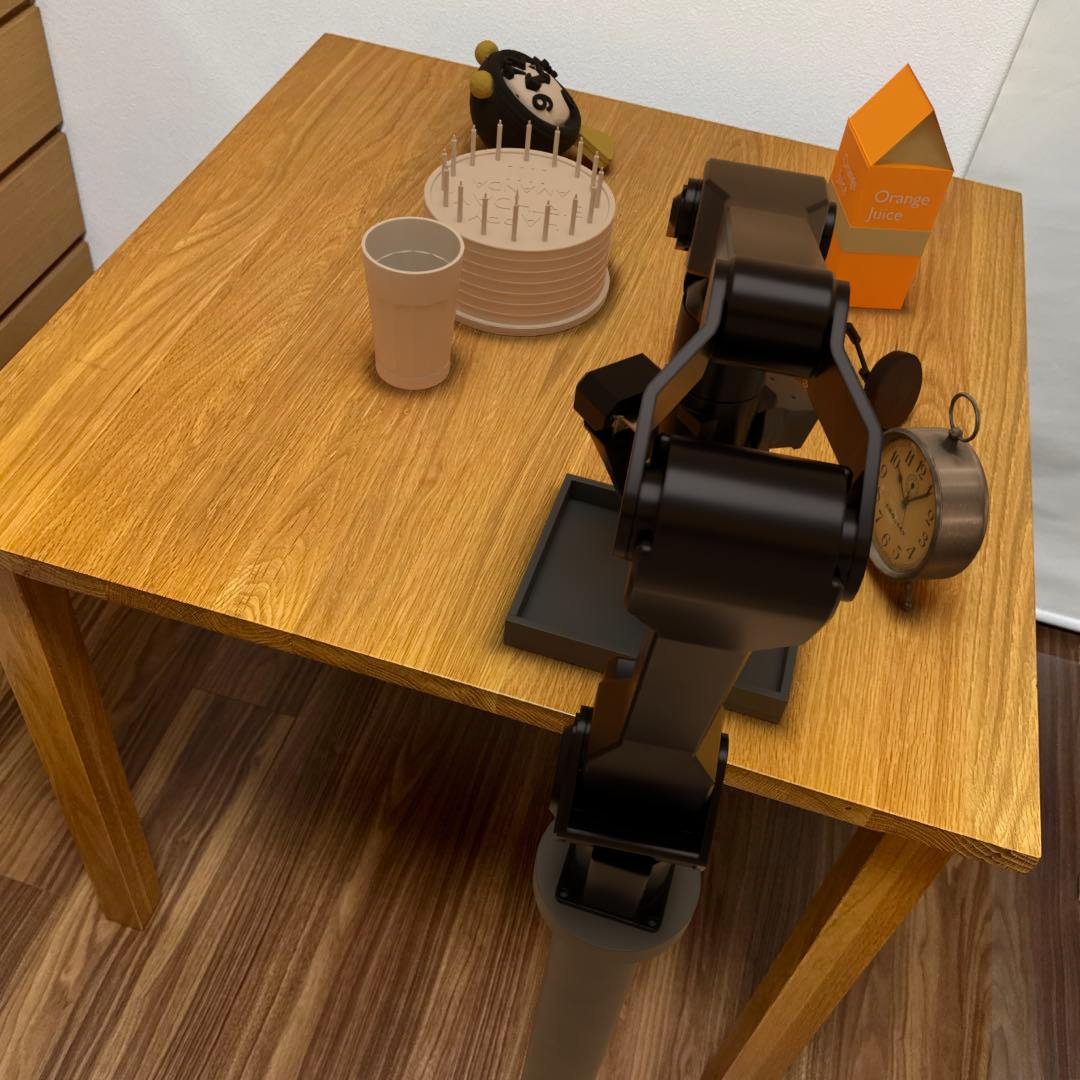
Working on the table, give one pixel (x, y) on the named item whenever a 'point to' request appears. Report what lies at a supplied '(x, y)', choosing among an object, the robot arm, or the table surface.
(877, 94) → the orange juice
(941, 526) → the alarm clock
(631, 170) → the table surface
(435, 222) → the cup
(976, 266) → the table surface
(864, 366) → the light fixture
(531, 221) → the cake
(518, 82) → the alarm clock
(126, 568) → the table surface
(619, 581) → the tray
